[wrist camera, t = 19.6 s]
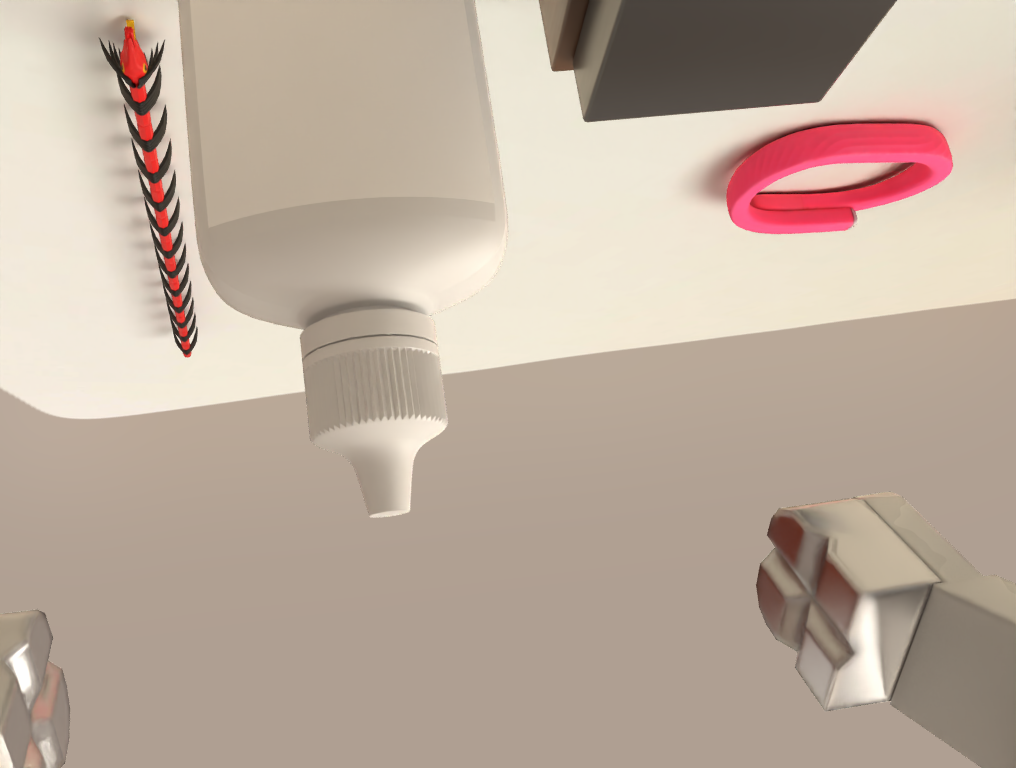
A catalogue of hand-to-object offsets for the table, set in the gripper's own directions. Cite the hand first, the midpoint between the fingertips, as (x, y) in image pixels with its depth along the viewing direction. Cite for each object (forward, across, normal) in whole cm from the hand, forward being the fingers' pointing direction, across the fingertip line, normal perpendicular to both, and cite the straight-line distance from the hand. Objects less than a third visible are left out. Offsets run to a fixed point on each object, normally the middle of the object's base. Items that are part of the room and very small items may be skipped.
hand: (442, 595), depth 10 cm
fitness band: (+21, -18, +2) cm, 28 cm away
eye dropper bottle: (+14, 0, -6) cm, 15 cm away
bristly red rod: (+23, +5, +4) cm, 24 cm away
